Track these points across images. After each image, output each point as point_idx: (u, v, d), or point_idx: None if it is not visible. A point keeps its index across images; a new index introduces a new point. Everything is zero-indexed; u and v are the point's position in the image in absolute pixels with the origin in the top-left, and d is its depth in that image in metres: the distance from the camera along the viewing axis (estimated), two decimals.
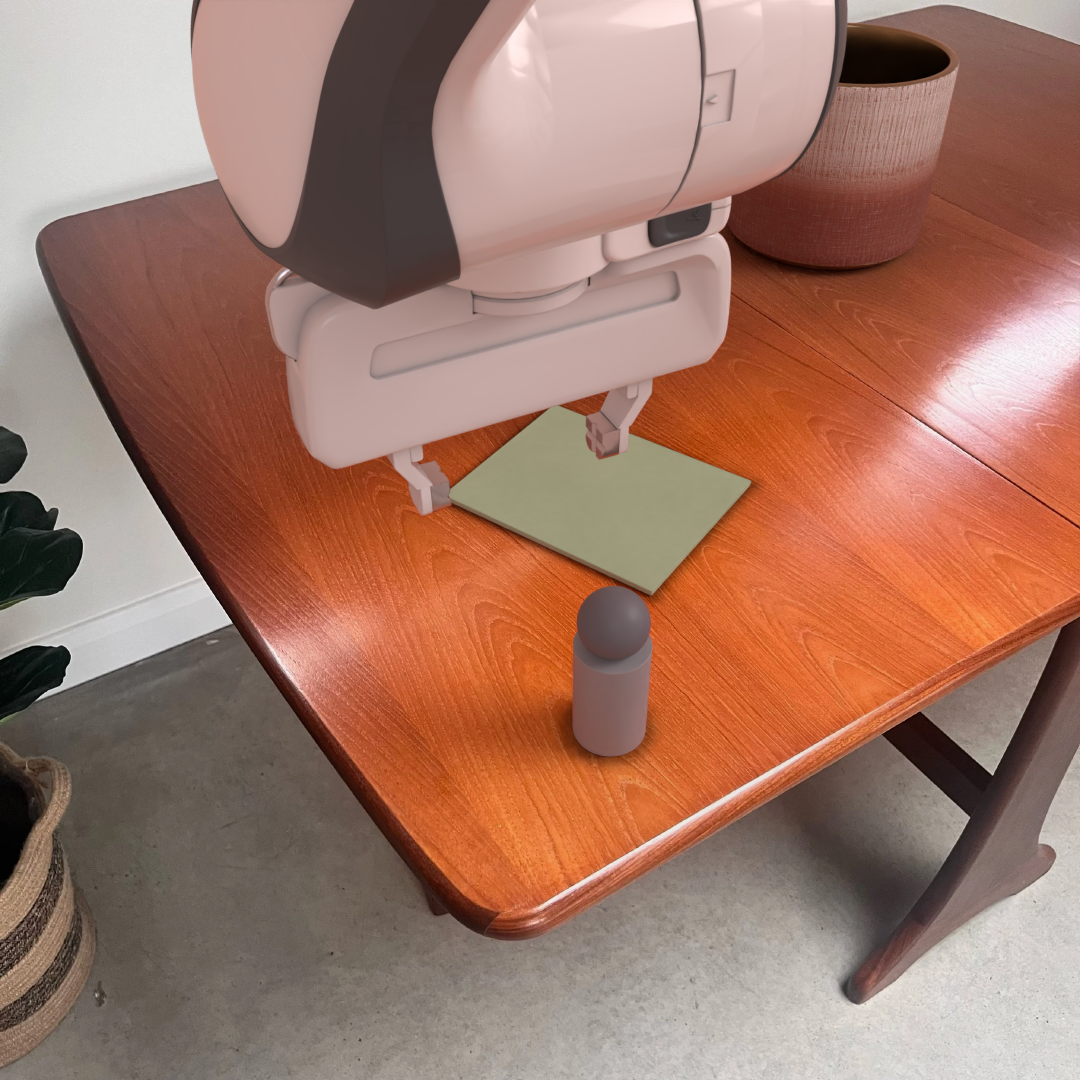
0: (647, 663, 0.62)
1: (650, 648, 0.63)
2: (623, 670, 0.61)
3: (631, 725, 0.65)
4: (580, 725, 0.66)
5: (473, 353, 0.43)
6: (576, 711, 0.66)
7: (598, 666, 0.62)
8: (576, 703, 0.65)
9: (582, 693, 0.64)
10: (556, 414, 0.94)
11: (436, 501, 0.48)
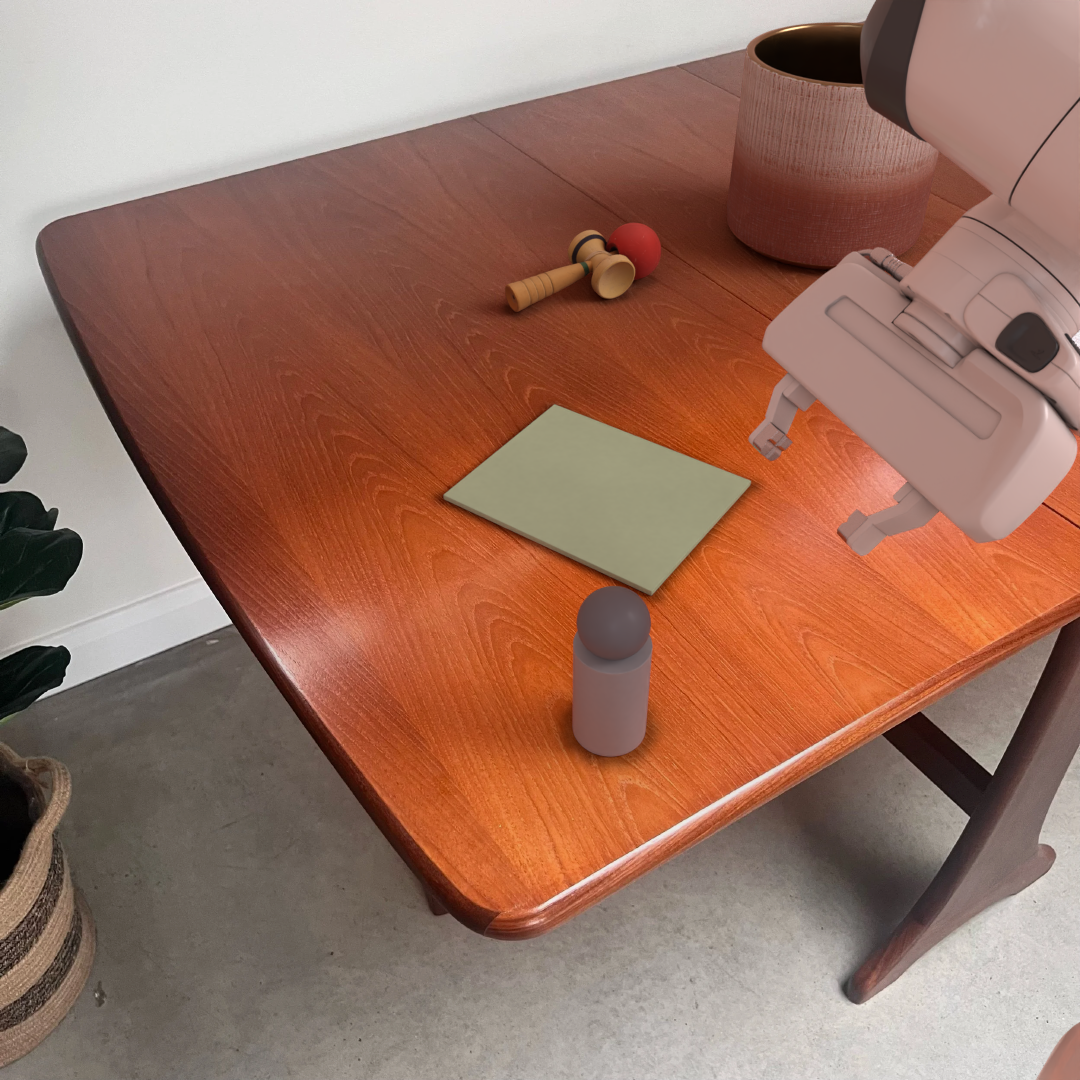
0: (647, 663, 0.62)
1: (650, 648, 0.63)
2: (623, 670, 0.61)
3: (631, 725, 0.65)
4: (580, 725, 0.66)
5: (867, 348, 0.59)
6: (576, 711, 0.66)
7: (598, 666, 0.62)
8: (576, 703, 0.65)
9: (582, 693, 0.64)
10: (556, 414, 0.94)
11: (761, 435, 0.64)
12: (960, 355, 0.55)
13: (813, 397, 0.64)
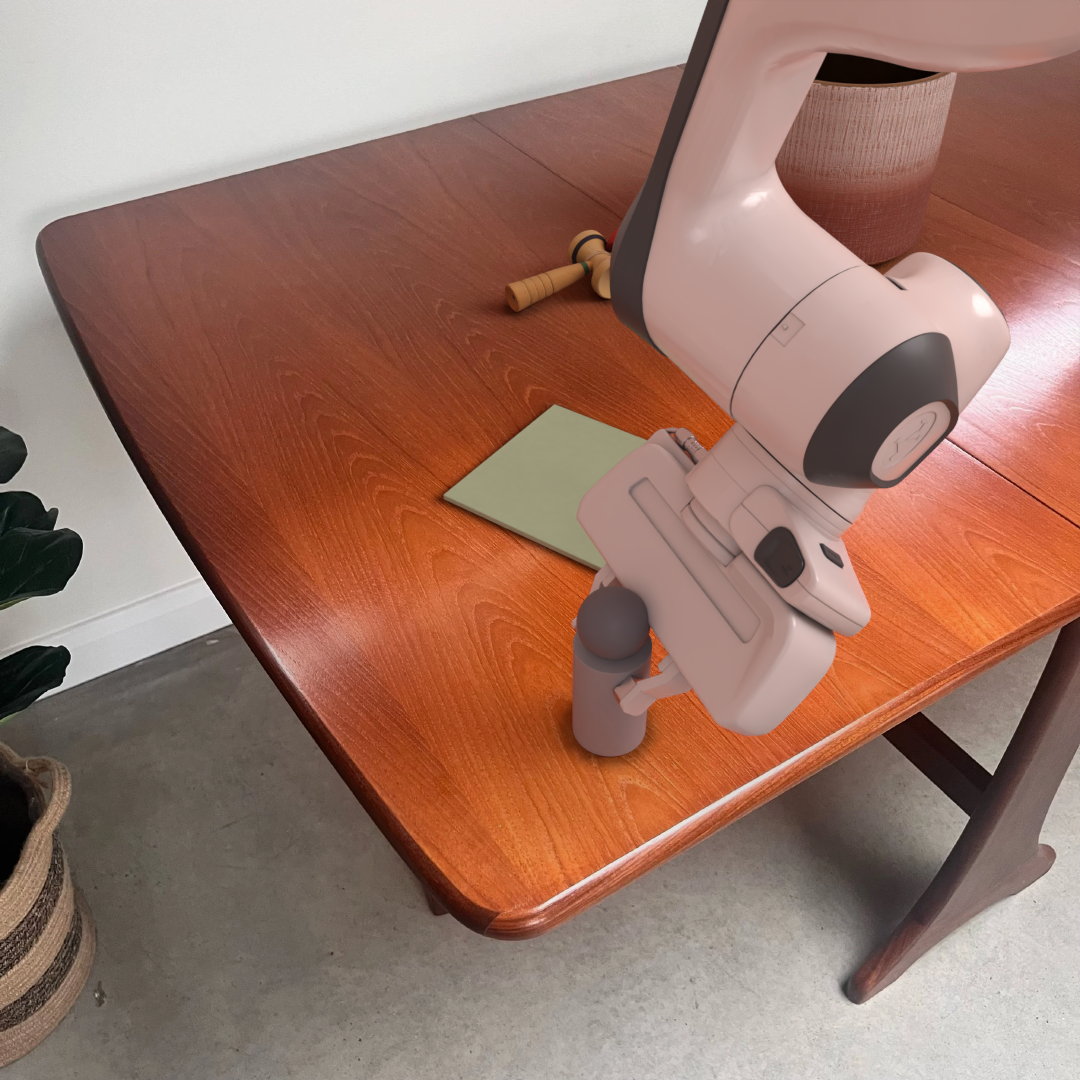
0: (647, 663, 0.62)
1: (650, 648, 0.63)
2: (623, 670, 0.61)
3: (631, 725, 0.65)
4: (580, 725, 0.66)
5: (660, 534, 0.62)
6: (576, 711, 0.66)
7: (598, 666, 0.62)
8: (576, 703, 0.65)
9: (581, 693, 0.64)
10: (556, 414, 0.94)
11: None
12: (732, 554, 0.58)
13: None
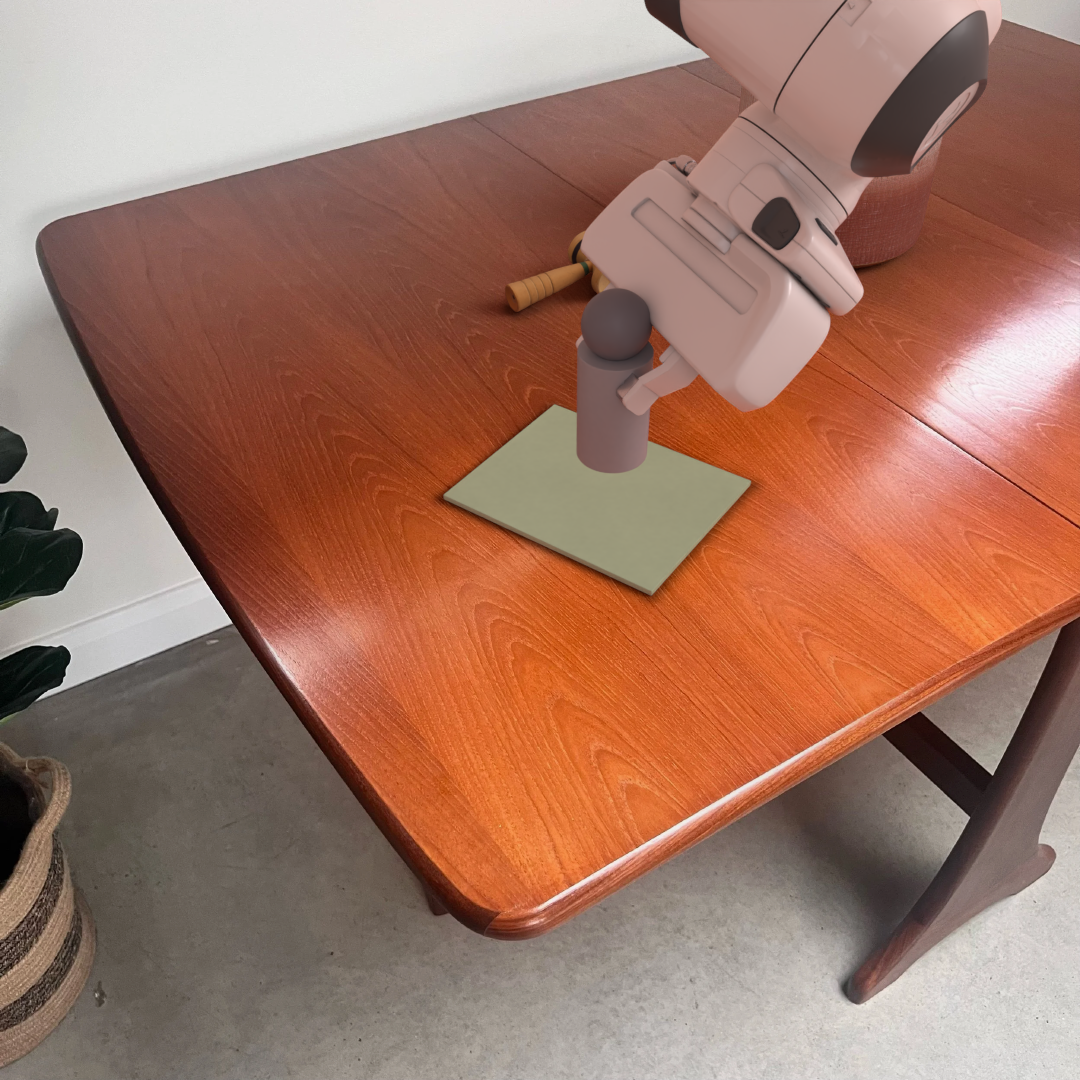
0: (648, 365, 0.65)
1: (651, 353, 0.65)
2: (625, 368, 0.64)
3: (633, 437, 0.67)
4: (584, 440, 0.68)
5: (661, 243, 0.65)
6: (580, 426, 0.68)
7: (601, 365, 0.64)
8: (580, 417, 0.68)
9: (585, 401, 0.66)
10: (556, 414, 0.94)
11: None
12: (731, 242, 0.61)
13: None
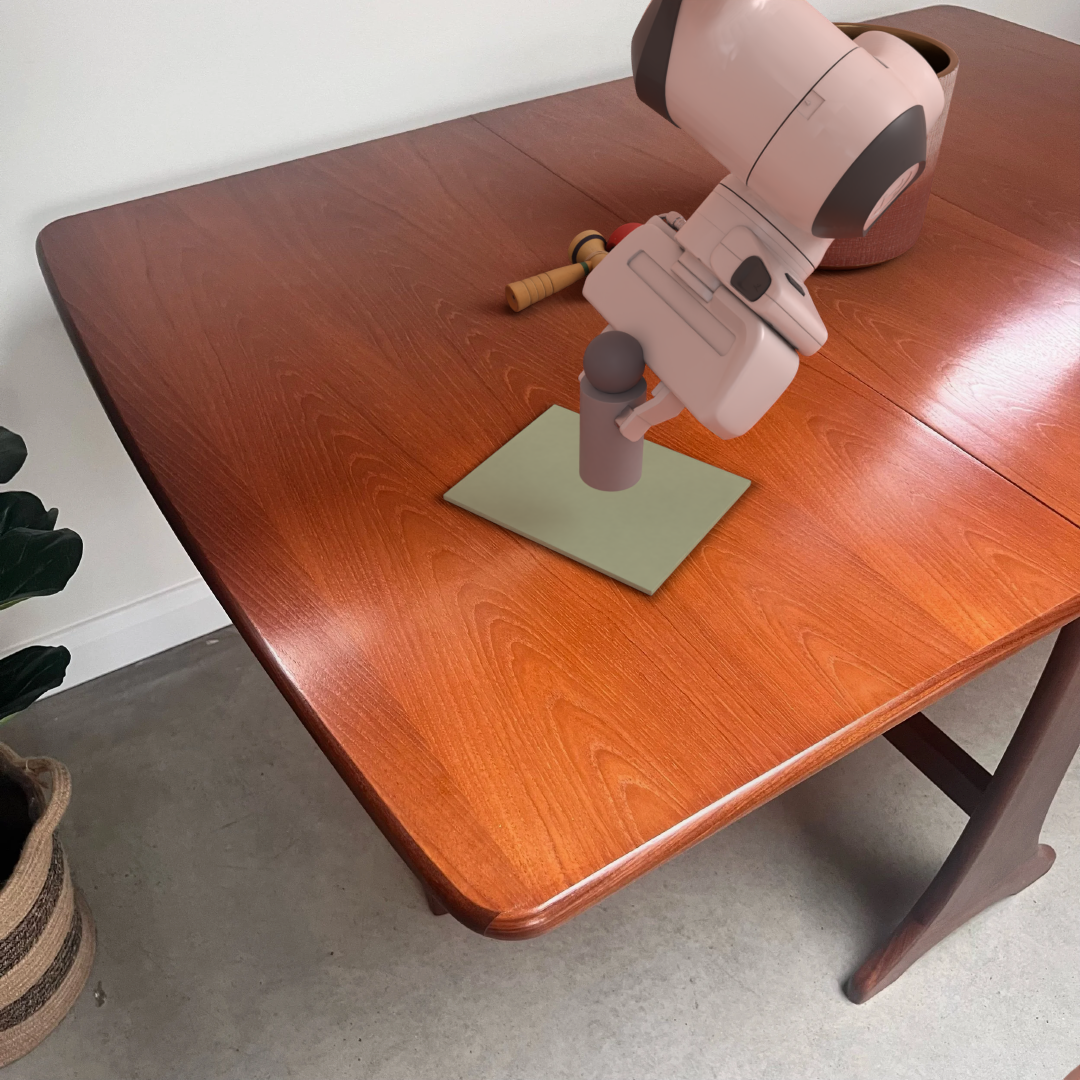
0: (642, 398, 0.74)
1: (645, 386, 0.74)
2: (622, 401, 0.73)
3: (629, 460, 0.76)
4: (586, 463, 0.77)
5: (653, 290, 0.74)
6: (582, 450, 0.77)
7: (601, 398, 0.73)
8: (582, 442, 0.77)
9: (587, 429, 0.75)
10: (556, 414, 0.94)
11: None
12: (713, 292, 0.70)
13: None
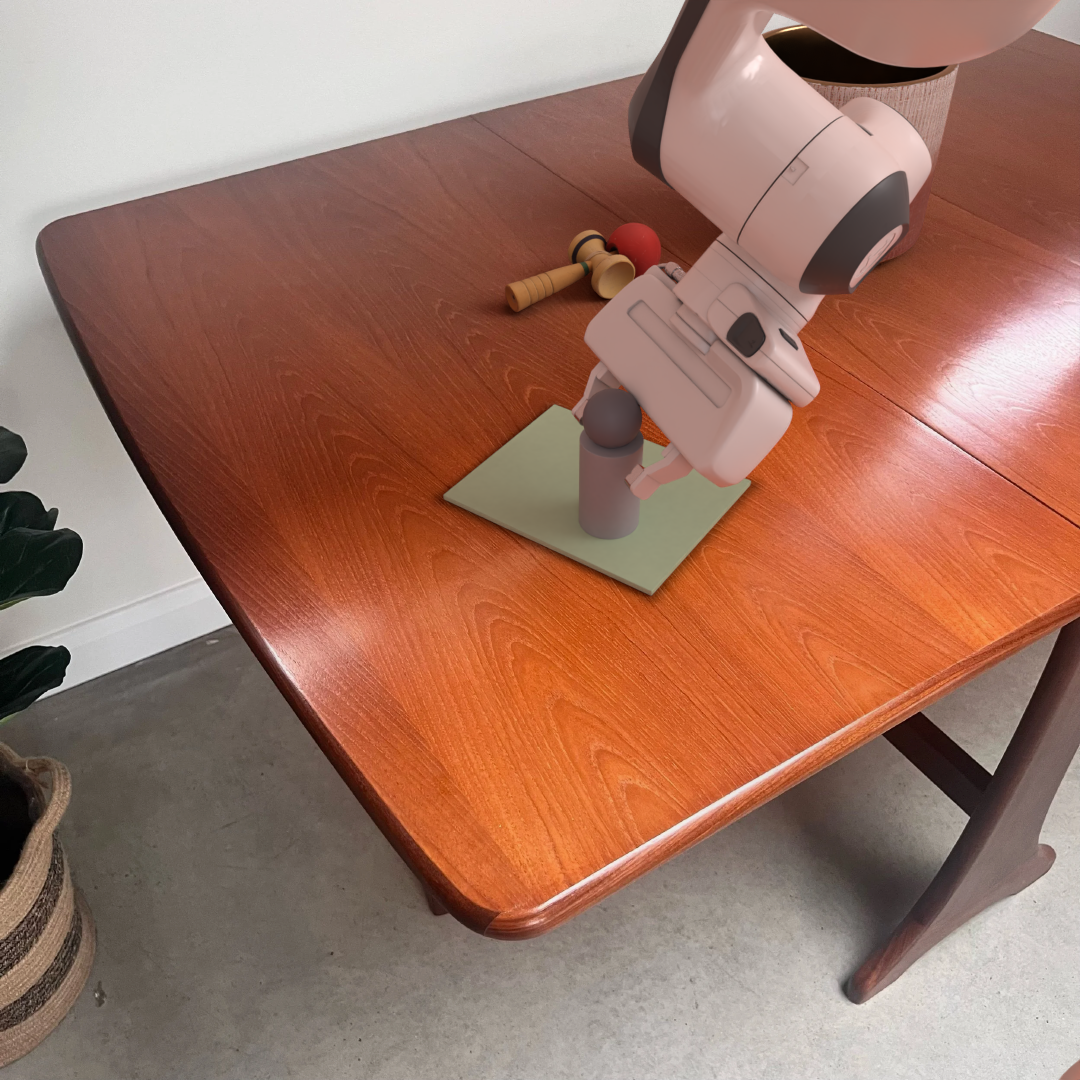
0: (639, 452, 0.77)
1: (642, 441, 0.77)
2: (620, 455, 0.76)
3: (626, 510, 0.80)
4: (585, 512, 0.81)
5: (652, 340, 0.77)
6: (582, 500, 0.80)
7: (600, 452, 0.76)
8: (582, 492, 0.80)
9: (586, 481, 0.78)
10: (556, 414, 0.94)
11: (579, 409, 0.81)
12: (710, 345, 0.73)
13: None
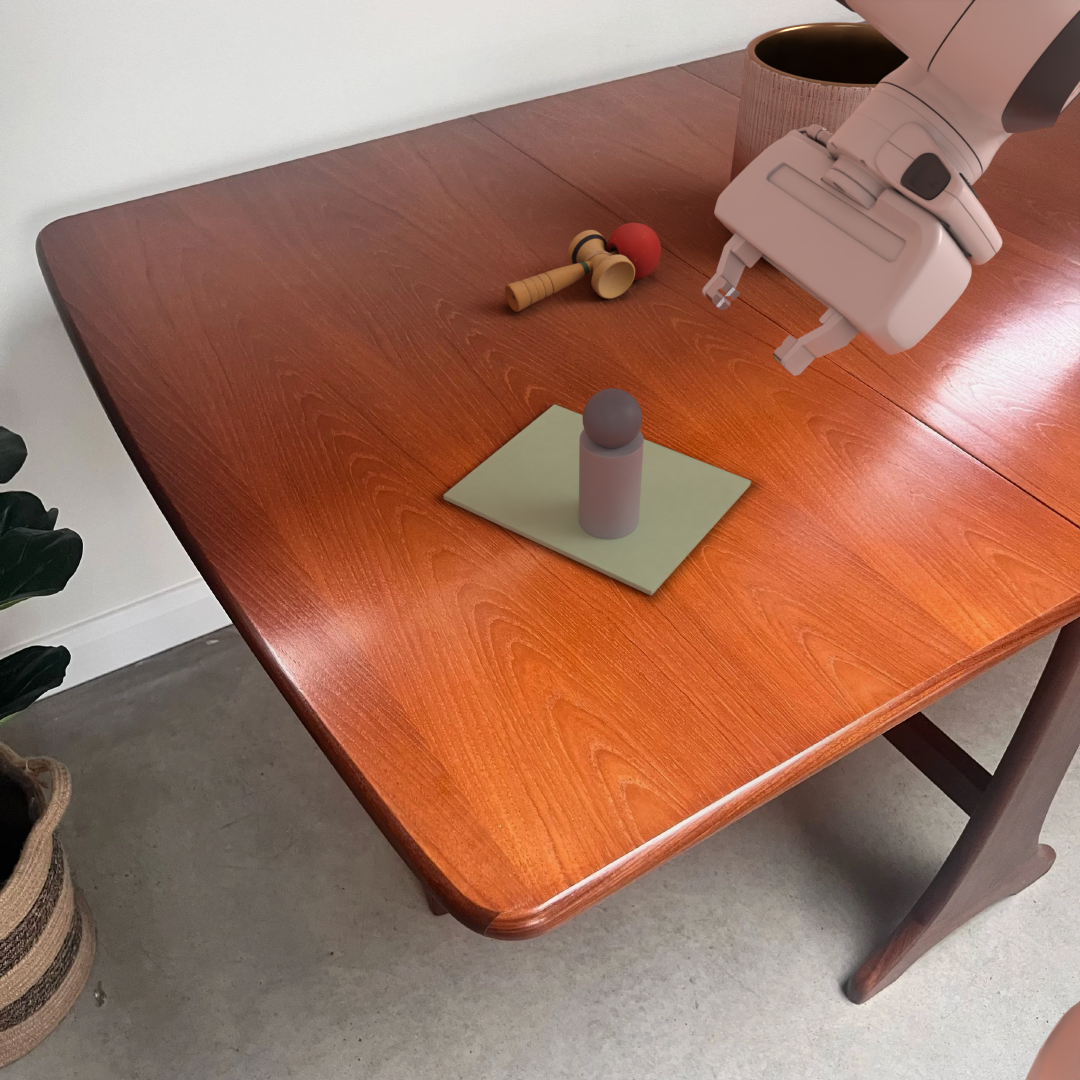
0: (639, 452, 0.77)
1: (642, 441, 0.77)
2: (620, 455, 0.76)
3: (626, 510, 0.80)
4: (585, 512, 0.81)
5: (801, 203, 0.69)
6: (582, 500, 0.80)
7: (600, 452, 0.76)
8: (582, 492, 0.80)
9: (586, 481, 0.78)
10: (556, 414, 0.94)
11: (712, 287, 0.73)
12: (875, 198, 0.65)
13: (758, 254, 0.74)
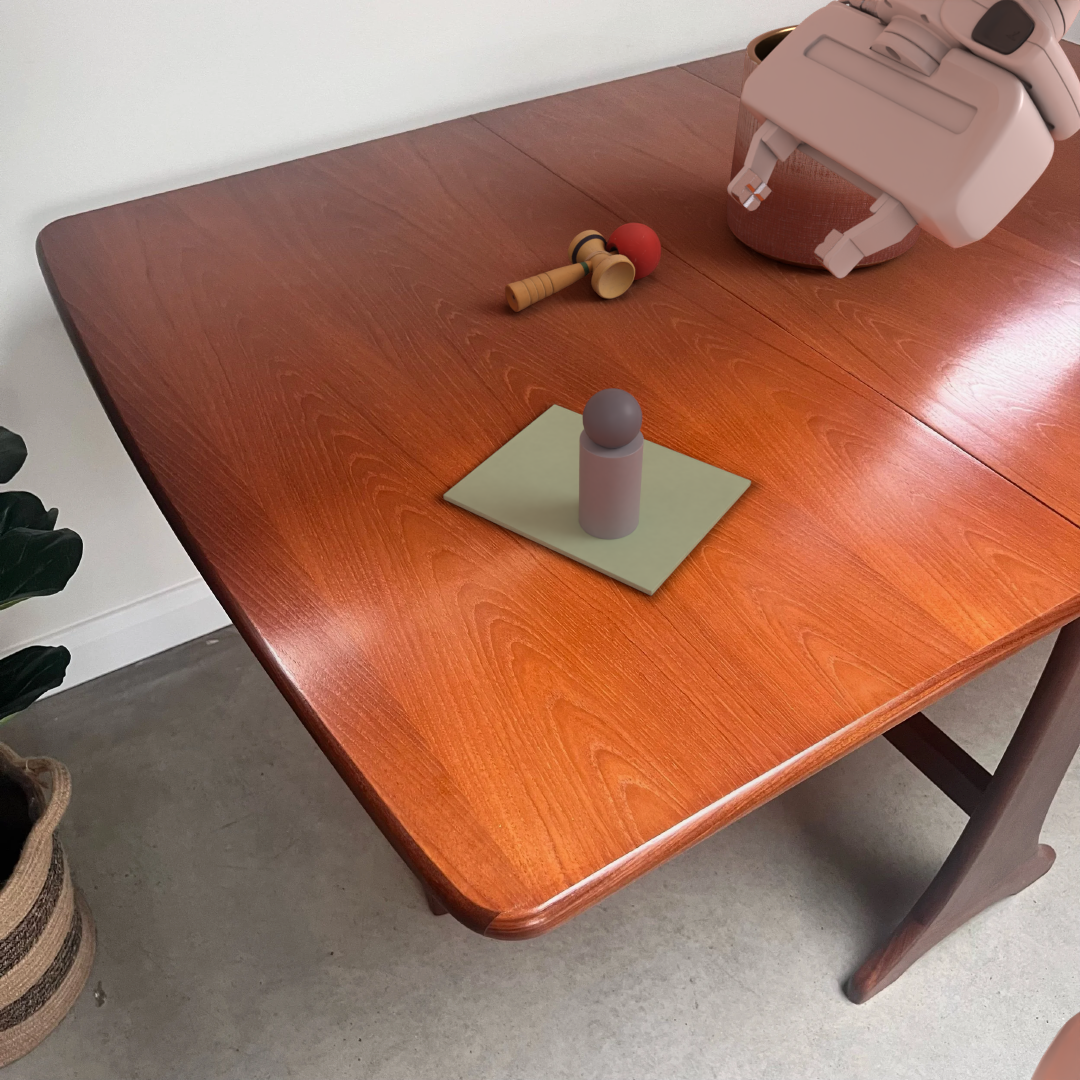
0: (639, 452, 0.77)
1: (642, 441, 0.77)
2: (620, 455, 0.76)
3: (626, 510, 0.80)
4: (585, 512, 0.81)
5: (845, 77, 0.59)
6: (582, 500, 0.80)
7: (600, 452, 0.76)
8: (582, 492, 0.80)
9: (586, 481, 0.78)
10: (556, 414, 0.94)
11: (739, 182, 0.63)
12: (937, 63, 0.55)
13: (792, 145, 0.63)
